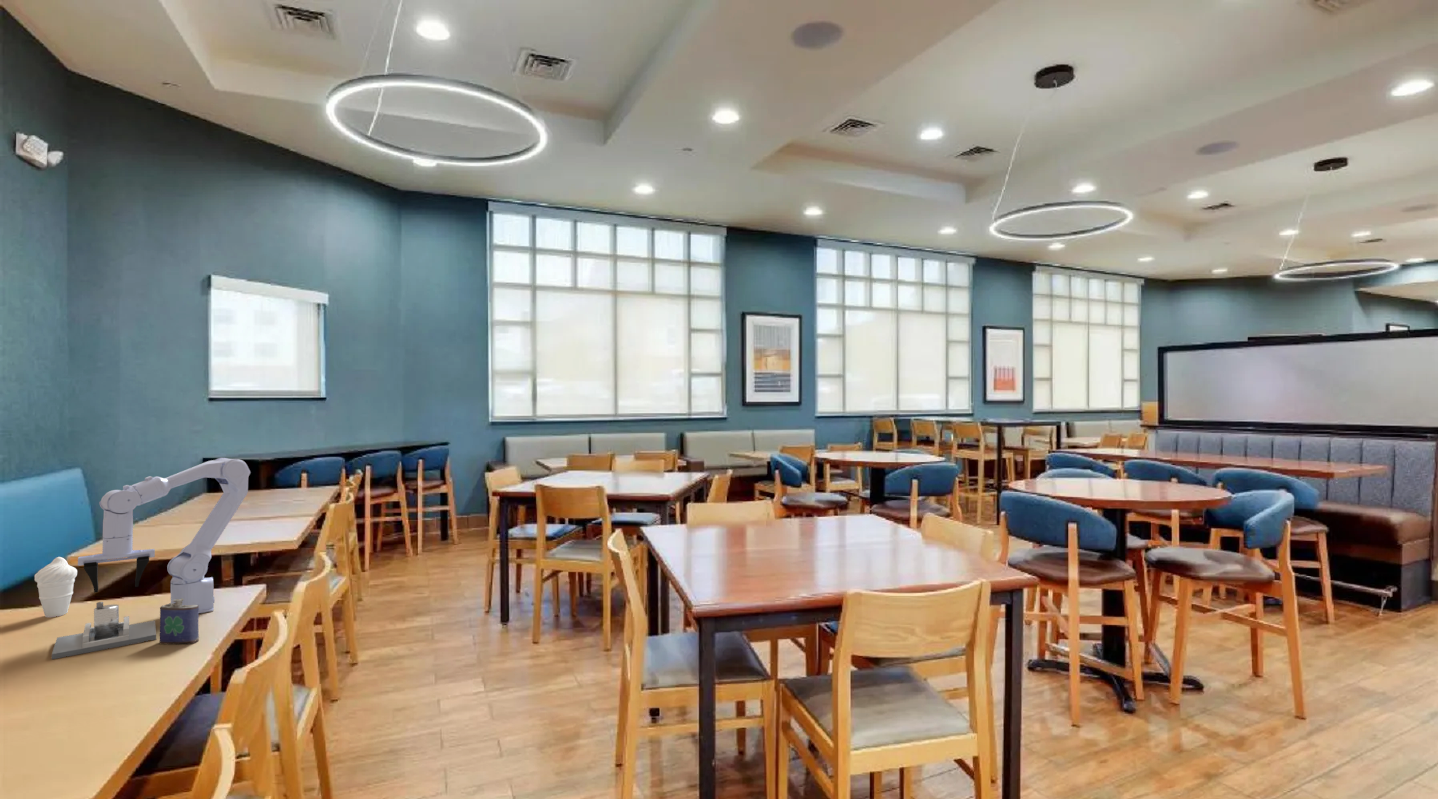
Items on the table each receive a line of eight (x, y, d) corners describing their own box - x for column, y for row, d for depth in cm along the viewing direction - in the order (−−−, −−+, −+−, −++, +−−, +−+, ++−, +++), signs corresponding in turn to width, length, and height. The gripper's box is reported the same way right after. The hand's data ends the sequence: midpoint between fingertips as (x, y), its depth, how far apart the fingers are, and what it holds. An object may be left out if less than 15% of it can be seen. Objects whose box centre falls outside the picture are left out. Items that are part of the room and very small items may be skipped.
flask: (201, 640, 158) (201, 597, 158) (191, 644, 155) (190, 600, 155) (165, 639, 158) (165, 596, 158) (154, 644, 156) (154, 600, 156)
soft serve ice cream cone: (54, 620, 173) (54, 561, 173) (24, 620, 173) (24, 561, 173) (86, 610, 181) (86, 553, 181) (57, 609, 181) (57, 553, 181)
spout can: (115, 630, 161) (115, 597, 161) (121, 634, 159) (120, 600, 158) (92, 636, 157) (91, 602, 157) (96, 640, 155) (96, 605, 155)
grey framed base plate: (154, 624, 169) (154, 610, 169) (156, 639, 159) (156, 624, 159) (57, 642, 157) (57, 627, 157) (51, 659, 146) (51, 643, 146)
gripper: (154, 530, 174) (153, 580, 174) (79, 537, 164) (78, 590, 164) (155, 534, 169) (154, 586, 169) (77, 542, 159) (76, 596, 159)
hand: (116, 588), depth 166 cm, fingers open, 7 cm apart
